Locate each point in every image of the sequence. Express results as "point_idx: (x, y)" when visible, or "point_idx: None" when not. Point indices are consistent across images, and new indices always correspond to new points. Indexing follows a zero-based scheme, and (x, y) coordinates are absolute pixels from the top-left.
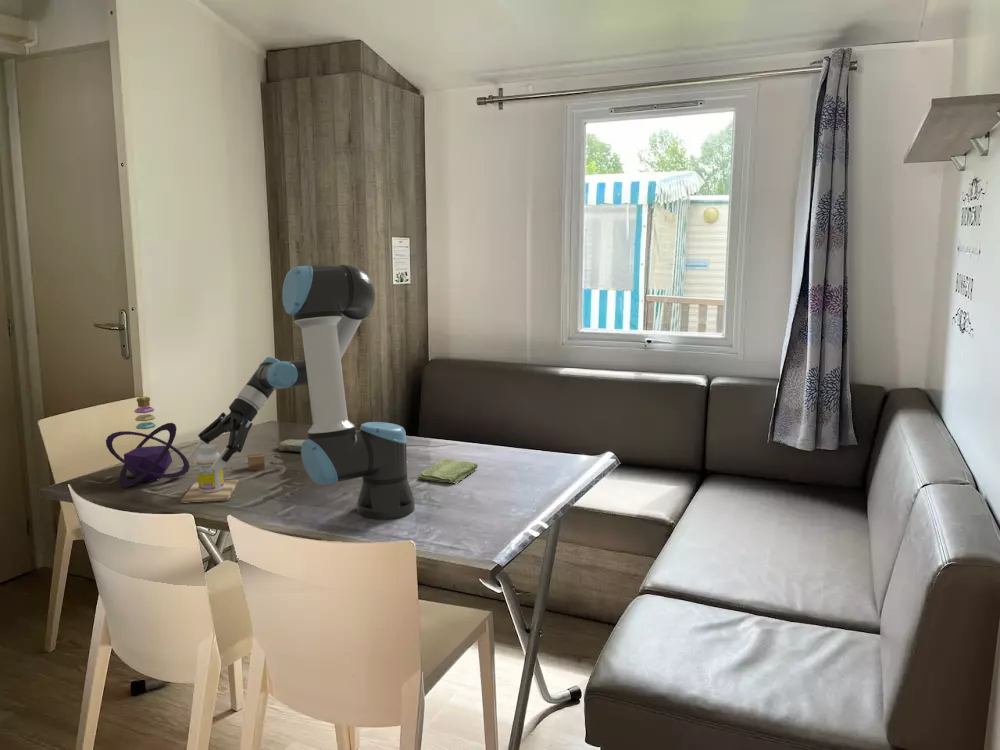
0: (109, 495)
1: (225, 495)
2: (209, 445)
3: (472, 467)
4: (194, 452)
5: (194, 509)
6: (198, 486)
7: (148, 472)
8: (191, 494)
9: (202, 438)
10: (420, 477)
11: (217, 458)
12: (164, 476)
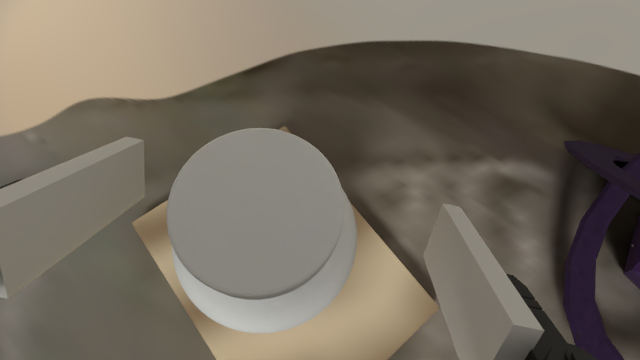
0: (561, 89)
1: (157, 239)
2: (253, 217)
3: None
4: (455, 245)
5: (195, 116)
6: (367, 267)
7: (576, 151)
8: None
9: (548, 355)
10: None
11: (87, 162)
12: (574, 245)
